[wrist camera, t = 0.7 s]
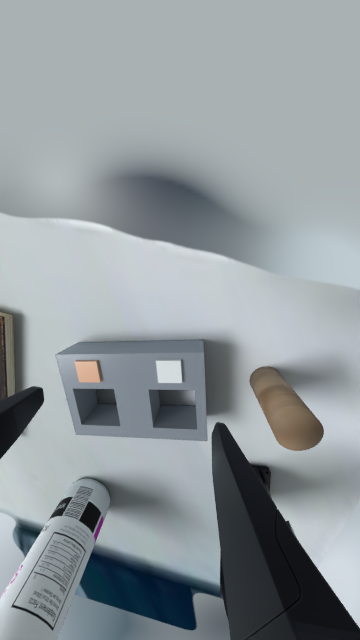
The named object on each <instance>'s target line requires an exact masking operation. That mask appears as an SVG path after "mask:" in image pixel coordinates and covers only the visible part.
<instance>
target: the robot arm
mask: <svg viewBox="0 0 360 640" xmlns="http://www.w3.org/2000/svg"><path fill="white" fill-rule="evenodd" d="M43 402H44V394H43V389H42V388H41V387H36V386H33V387H30V388H28V389H25V390H23V391H21V392H19V393H16V394H14V395H12V396H9V397H7V398H5V399H3V400H0V459H1V458H2V457H3V455H4V454H5V453H6V452H7V451H8V449H9V448H10V447H11V446H12V445H13V443H14V442H15V441H16V440H17V439H18V437H19V436H20V435H21V434H22V432H23V431H24V429H25V428H26V427H27V425H28V424H29V422H30V421H31V420H32V418H33V417H34V416H35V414H36V413H37V411H38V410H39V409H40V407H41V406H42V404H43ZM212 474H213V484H214V493H215V502H216V511H217V520H218V529H219V539H220V548H221V561H220V593H221V597H222V599H223V600H224V605H225V610H226V614H227V617H228V620H229V628H230V638H231V640H360V628H359V627H358V625H357V624H356V623H355V621H354V620H353V618H352V617H351V616H350V614H349V613H348V611H347V610H346V609H345V607H344V606H343V604H342V603H341V602H340V600H339V599H338V597H337V596H336V594H335V593H334V592H333V590H332V589H331V587H330V586H329V584H328V583H327V582H326V580H325V579H324V577H323V576H322V575H321V573H320V572H319V570H318V569H317V567H316V566H315V565H314V563H313V562H312V560H311V559H310V557H309V556H308V554H307V553H306V551H305V550H304V549H303V547H302V546H301V544H300V543H299V541H298V540H297V538H296V536H295V534H294V531H293V529H292V527H291V525H290V523H289V521H285V519H284V518H283V516H282V515H281V513H280V511H279V510H278V509H277V507H276V505H275V504H274V502H273V500H272V498H271V495H270V492H269V490H270V477H271V472H270V469H269V468H268V467H256V466H251V465H250V463H249V462H248V460H247V459H246V457H245V455H244V454H243V452H242V451H241V449H240V447H239V446H238V444H237V443H236V441H235V439H234V438H233V436H232V435H231V433H230V431H229V430H228V428H227V427H226V425H225V424H224V423H219V422H217V423H216V424H215V427H214V430H213V432H212Z"/></svg>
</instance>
